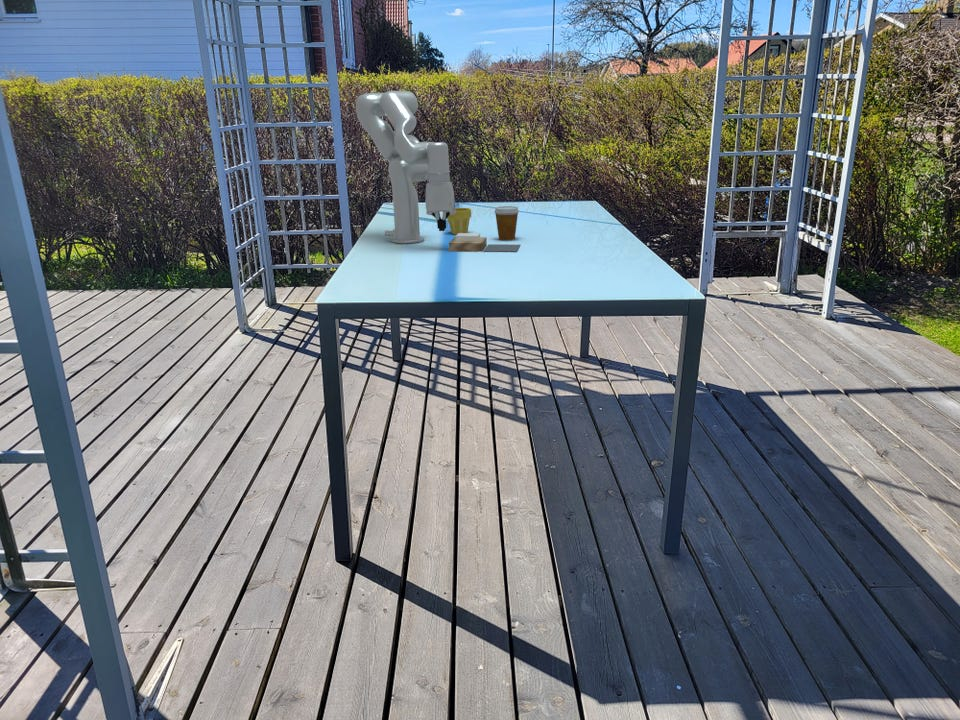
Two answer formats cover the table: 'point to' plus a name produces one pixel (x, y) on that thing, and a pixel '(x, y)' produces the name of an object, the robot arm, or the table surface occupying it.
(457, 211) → the plant pot
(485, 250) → the mat
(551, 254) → the table surface
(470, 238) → the tile
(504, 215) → the disposable coffee cup
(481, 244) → the block
